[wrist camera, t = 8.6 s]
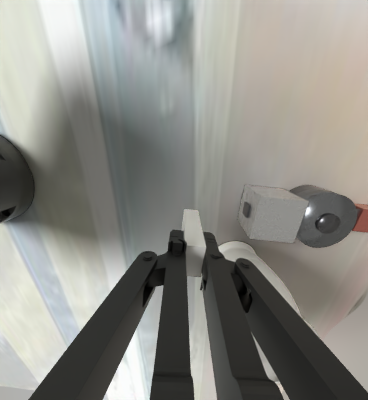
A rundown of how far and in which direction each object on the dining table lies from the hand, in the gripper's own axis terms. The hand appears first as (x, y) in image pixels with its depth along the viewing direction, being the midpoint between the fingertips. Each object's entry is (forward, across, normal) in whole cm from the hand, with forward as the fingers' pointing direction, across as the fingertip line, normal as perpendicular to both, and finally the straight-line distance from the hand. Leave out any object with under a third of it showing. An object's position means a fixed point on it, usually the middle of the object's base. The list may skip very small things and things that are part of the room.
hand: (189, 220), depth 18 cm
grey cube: (+9, +12, 0) cm, 15 cm away
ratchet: (+9, +22, 0) cm, 24 cm away
